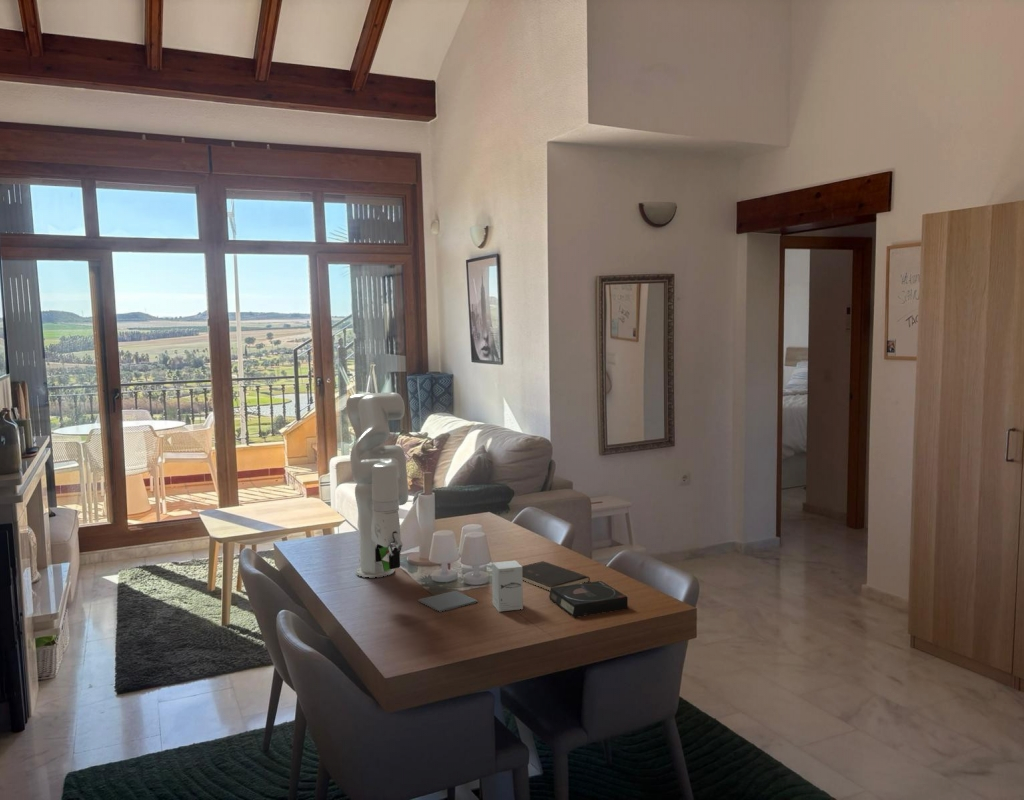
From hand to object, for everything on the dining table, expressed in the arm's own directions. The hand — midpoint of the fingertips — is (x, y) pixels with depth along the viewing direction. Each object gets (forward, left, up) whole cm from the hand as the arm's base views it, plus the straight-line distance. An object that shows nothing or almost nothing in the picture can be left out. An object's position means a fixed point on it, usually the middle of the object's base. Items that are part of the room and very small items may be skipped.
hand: (387, 564), depth 232 cm
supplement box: (+24, +26, -13) cm, 37 cm away
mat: (+9, +15, -12) cm, 21 cm away
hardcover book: (+10, +52, -13) cm, 54 cm away
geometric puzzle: (0, 0, -2) cm, 2 cm away
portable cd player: (+37, +45, -13) cm, 59 cm away
